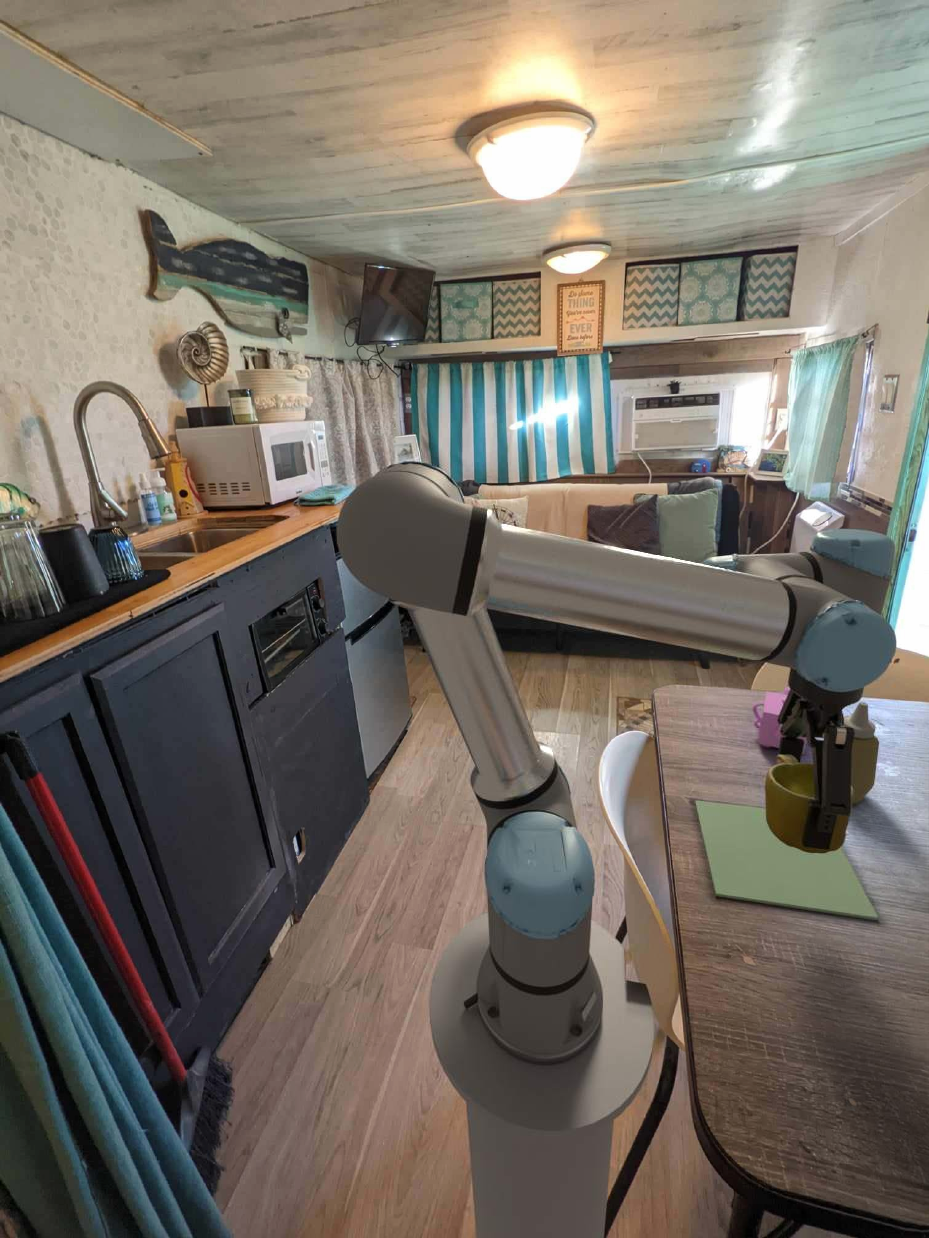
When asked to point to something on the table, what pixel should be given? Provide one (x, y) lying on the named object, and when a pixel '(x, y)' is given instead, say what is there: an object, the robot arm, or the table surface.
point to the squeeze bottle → (862, 751)
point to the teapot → (771, 719)
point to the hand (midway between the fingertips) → (798, 809)
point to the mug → (795, 804)
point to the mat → (775, 865)
